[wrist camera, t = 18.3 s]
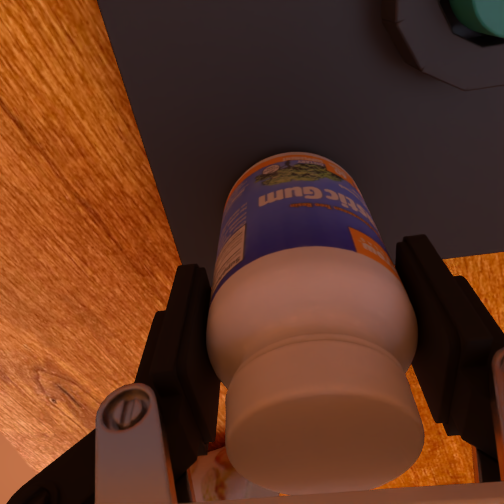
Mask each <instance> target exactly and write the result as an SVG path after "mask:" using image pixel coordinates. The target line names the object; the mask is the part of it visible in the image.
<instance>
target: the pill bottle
mask: <svg viewBox="0 0 504 504" xmlns="http://www.w3.org/2000/svg"><path fill="white" fill-rule="evenodd" d="M417 344H418V324H417V318H416V315H415V311H414V309H413V306H412V304H411V302H410V300H409V297H408V294H407V292H406V290H405V288H404V286H403V283H402V281H401V279H400V277H399V275H398V273H397V270H396V268H395V266H394V264H393V262H392V260H391V258H390V256H389V253H388V251H387V249H386V247H385V245H384V243H383V241H382V239H381V236H380V234H379V232H378V230H377V227H376V225H375V223H374V221H373V219H372V216H371V214H370V212H369V210H368V208H367V206H366V203H365V201H364V199H363V197H362V194H361V192H360V190H359V189H358V187H357V185H356V183H355V182H354V180H353V179H352V178H351V176H350V175H349V174H348V173H347V172H346V171H345V170H344V169H343V168H342V167H340V166H339V165H338V164H336V163H335V162H333V161H331V160H329V159H327V158H325V157H322V156H319V155H316V154H312V153H306V152H288V153H282V154H277V155H274V156H271V157H268V158H266V159H263V160H261V161H260V162H258V163H256V164H255V165H253V166H252V167H251V168H249V169H248V170H247V171H246V172H245V173H244V174H243V175H242V176H241V177H240V178H239V179H238V181H237V182H236V183H235V185H234V186H233V188H232V190H231V191H230V193H229V196H228V198H227V201H226V204H225V208H224V212H223V218H222V224H221V230H220V237H219V244H218V250H217V257H216V263H215V270H214V276H213V283H212V290H211V297H210V304H209V312H208V319H207V330H206V347H207V353H208V356H209V360H210V363H211V365H212V367H213V369H214V371H215V373H216V375H217V377H218V378H219V379H220V381H221V382H222V383H223V384H224V385H225V387H226V388H227V389H228V391H227V394H226V401H225V404H226V432H225V445H226V452H227V455H228V458H229V461H230V462H231V464H232V465H233V467H234V468H235V469H236V471H237V472H238V473H239V474H241V475H242V476H243V477H244V478H246V479H247V480H249V481H251V482H252V483H254V484H256V485H258V486H261V487H263V488H265V489H268V490H271V491H274V492H278V493H283V494H287V495H305V494H319V493H334V492H348V491H363V490H370V489H374V488H376V487H379V486H382V485H384V484H386V483H388V482H390V481H392V480H394V479H395V478H397V477H398V476H400V475H401V474H403V473H404V472H405V471H407V470H408V469H409V468H410V467H411V466H412V465H413V464H414V463H415V461H416V460H417V459H418V457H419V455H420V453H421V451H422V448H423V445H424V429H423V424H422V421H421V418H420V415H419V412H418V409H417V406H416V403H415V401H414V398H413V395H412V392H411V389H410V386H409V383H408V381H407V378H406V375H405V373H406V371H407V370H408V368H409V366H410V365H411V363H412V360H413V358H414V355H415V352H416V348H417Z"/></svg>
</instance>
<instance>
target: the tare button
mask: <svg viewBox="0 0 504 504" xmlns="http://www.w3.org/2000/svg"><path fill="white" fill-rule="evenodd" d="M449 3H450V6H451V9H452V11H453V13H454V15H455V16H456V18H457V19H458V20H459V22H460V23H462V24H463V25H464V26H465V27H467V28H469V29H470V30H473V31H475V32H479V33H483V34H487V35H491V36H495V37H500V38H504V0H449Z"/></svg>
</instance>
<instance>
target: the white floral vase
mask: <svg viewBox="0 0 504 504" xmlns="http://www.w3.org/2000/svg"><path fill="white" fill-rule="evenodd" d="M190 472H191V477H192V482H193V487H194V492H195V498H196V502H208V501H222V500H235V499H249V498H262V497H276V496H279V493H278V492H274V491H271V490H268V489H265V488H263V487H261V486H258V485H256V484H254V483H252V482H251V481H249V480H247V479H246V478H244V477H243V476H242V475H241V474H239V473H238V472H237V471H236V469H235V468H234V467H233V465H232V464H231V462H230V461H229V458H228V455H227V452H226V446H225V447H222V448H219V449H216V450H214V451H211V452H208V454H207V455H205V456H197V461H196V462H195V463H194V464H193V465H191V466H190Z"/></svg>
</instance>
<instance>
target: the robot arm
mask: <svg viewBox="0 0 504 504" xmlns="http://www.w3.org/2000/svg"><path fill="white" fill-rule="evenodd" d="M395 268H396V270H397V273H398V275H399V277H400V279H401V281H402V283H403V286H404V288H405V290H406V292H407V294H408V297H409V300H410V302H411V304H412V306H413V309H414V311H415V315H416V318H417V324H418V344H417V348H416V352H415V355H414V358H413V360H412V363H411V364H412V366H413V369H414V371H415V374H416V376H417V379H418V381H419V384H420V386H421V389H422V391H423V394H424V397H425V399H426V402H427V404H428V407H429V409H430V412H431V414H432V417H433V419H434V421H435V422H436V423H442V424H443V426H444V428H445V431H446V433H447V436H453V435H460V436H461V438H462V439H463V440H464V441H466V442H468V443H469V444H471V447H472V458H473V470H474V481H475V483H470V484H454V485H439V486H423V487H407V488H392V489H378V490H363V491H348V492H334V493H319V494H305V495H290V496H276V497H262V498H249V499H235V500H222V501H208V502H196V498H195V492H194V487H193V482H192V477H191V472H190V466H191V465H193V464H194V463H195V462H196V461H197V456H205V455H207V454H208V444H209V442H214V441H215V437H216V426H217V415H218V404H219V392H220V379H219V378H218V377H217V375H216V373H215V371H214V369H213V367H212V365H211V363H210V360H209V356H208V353H207V347H206V330H207V319H208V312H209V304H210V297H211V286H210V283H209V279H208V276H207V272H206V269H205V268H204V267H201V268H199V266H198V264H197V263H195V264H187V265H180V266H178V268H177V271H176V275H175V278H174V282H173V286H172V289H171V293H170V297H169V300H168V304H167V308H166V310H164V311H158V312H156V314H155V316H154V319H153V322H152V325H151V329H150V332H149V335H148V339H147V342H146V345H145V349H144V352H143V355H142V358H141V362H140V365H139V368H138V372H137V375H136V378H135V382H134V383H132V384H127V385H124V386H122V387H120V388H118V389H116V390H115V391H113V392H112V393H111V394H109V395H108V396H107V397H106V398H105V400H104V401H103V402H102V403H101V405H100V407H99V409H98V411H97V415H96V428H95V429H94V430H93V431H92V432H90V433H89V434H88V435H86V436H85V437H84V438H83V439H81V440H80V441H79V442H78V443H76V444H75V445H74V446H73V447H71V448H70V449H69V450H67V451H66V452H65V453H64V454H62V455H61V456H60V457H59V458H57V459H56V460H55V461H54V462H52V463H51V464H50V465H48V466H47V467H46V468H45V469H43V470H42V471H41V472H40V473H38V474H37V475H36V476H35V477H33V478H32V479H31V480H29V481H28V482H27V483H26V484H24V485H23V486H22V487H21V488H20V489H19V490H18V491H17V492H16V493H15V494H14V495H13V496H12V497H11V498H10V500H9V501H8V502H7V504H504V333H503V332H502V330H501V329H500V328H499V326H498V325H497V323H496V322H495V320H494V319H493V317H492V316H491V315H490V313H489V312H488V310H487V309H486V307H485V306H484V304H483V303H482V301H481V300H480V299H479V297H478V296H477V294H476V293H475V291H474V290H473V288H472V287H471V286H470V284H469V283H468V281H467V280H466V279H465V278H464V277H463V276H453V275H452V274H451V272H450V271H449V269H448V268H447V266H446V265H445V263H444V262H443V260H442V259H441V257H440V256H439V254H438V252H437V251H436V249H435V248H434V246H433V245H432V243H431V242H430V240H429V239H428V237H427V236H426V235H425V234H420V235H412V236H404V237H403V240H402V242H398V243H397V244H396V259H395Z"/></svg>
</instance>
